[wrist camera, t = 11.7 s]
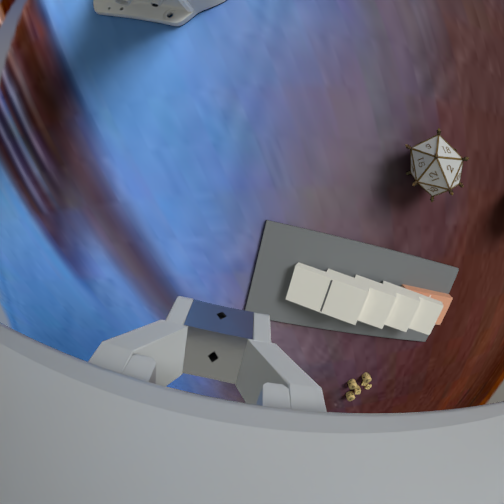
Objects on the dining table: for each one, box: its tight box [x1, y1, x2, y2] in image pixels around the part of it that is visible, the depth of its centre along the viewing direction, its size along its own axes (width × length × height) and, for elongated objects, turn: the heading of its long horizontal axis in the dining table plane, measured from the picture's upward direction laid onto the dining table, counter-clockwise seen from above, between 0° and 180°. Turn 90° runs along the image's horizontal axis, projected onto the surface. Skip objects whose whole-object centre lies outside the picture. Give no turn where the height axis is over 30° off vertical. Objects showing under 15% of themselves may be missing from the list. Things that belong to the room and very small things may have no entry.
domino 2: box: [327, 269, 396, 329], centre depth 38 cm, size 2×5×10 cm
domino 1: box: [286, 262, 370, 325], centre depth 38 cm, size 2×5×10 cm
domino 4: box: [382, 281, 443, 335], centre depth 39 cm, size 2×5×10 cm
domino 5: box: [401, 284, 453, 325], centre depth 41 cm, size 2×5×10 cm
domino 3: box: [355, 275, 421, 332], centre depth 39 cm, size 2×5×10 cm
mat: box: [245, 220, 459, 342], centre depth 41 cm, size 32×14×1 cm, turn 78°
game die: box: [405, 128, 469, 202], centre depth 31 cm, size 9×8×10 cm
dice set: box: [346, 373, 372, 401], centre depth 48 cm, size 5×5×2 cm
